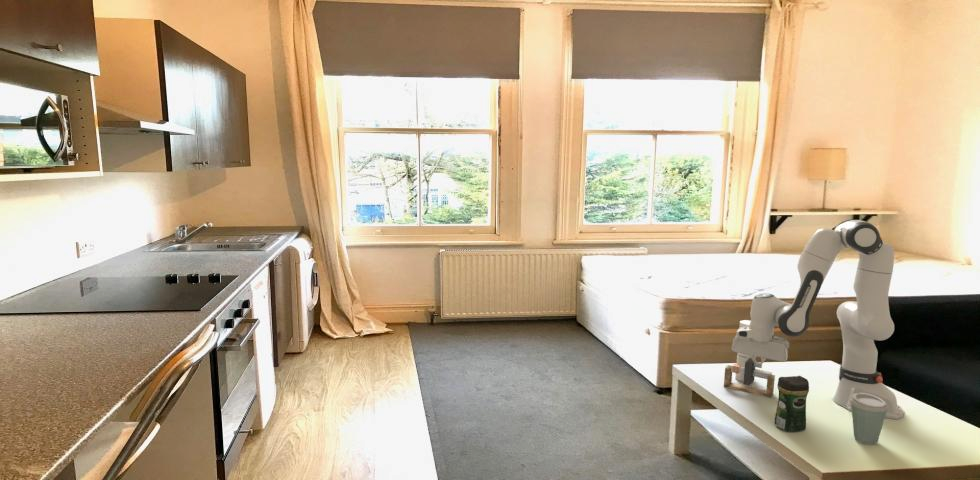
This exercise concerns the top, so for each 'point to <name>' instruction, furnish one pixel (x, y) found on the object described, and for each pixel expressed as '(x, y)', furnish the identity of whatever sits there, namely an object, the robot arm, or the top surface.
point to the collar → (748, 372)
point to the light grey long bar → (755, 372)
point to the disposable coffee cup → (867, 417)
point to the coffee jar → (792, 403)
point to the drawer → (767, 392)
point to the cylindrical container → (742, 357)
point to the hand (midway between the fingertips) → (757, 367)
